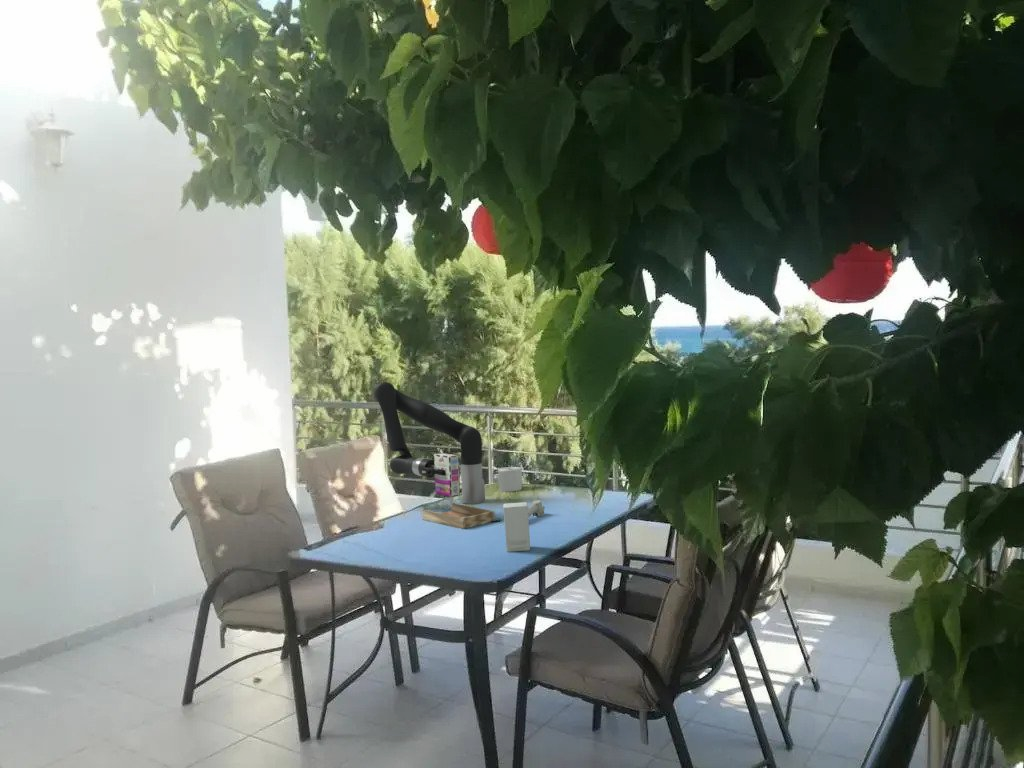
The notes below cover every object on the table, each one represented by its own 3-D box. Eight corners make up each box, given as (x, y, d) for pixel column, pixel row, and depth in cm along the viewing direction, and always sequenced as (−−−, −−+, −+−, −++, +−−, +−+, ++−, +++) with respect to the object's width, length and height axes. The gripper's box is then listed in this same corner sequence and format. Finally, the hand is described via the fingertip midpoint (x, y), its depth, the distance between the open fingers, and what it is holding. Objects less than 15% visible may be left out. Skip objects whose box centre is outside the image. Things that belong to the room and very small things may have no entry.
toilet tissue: (523, 487, 394) (522, 466, 393) (520, 492, 382) (519, 470, 381) (501, 487, 395) (500, 467, 394) (497, 492, 383) (496, 471, 383)
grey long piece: (505, 517, 313) (534, 496, 335) (507, 534, 314) (535, 511, 336) (518, 518, 310) (545, 497, 332) (520, 535, 312) (547, 512, 333)
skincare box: (529, 546, 284) (527, 501, 283) (530, 551, 278) (528, 505, 277) (505, 547, 284) (503, 502, 283) (505, 552, 278) (503, 506, 277)
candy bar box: (461, 495, 329) (459, 455, 328) (451, 497, 326) (449, 456, 325) (444, 492, 338) (443, 452, 337) (434, 493, 335) (433, 453, 334)
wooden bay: (453, 512, 344) (453, 503, 343) (494, 521, 324) (494, 511, 324) (422, 519, 333) (422, 510, 332) (463, 529, 314) (462, 518, 313)
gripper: (410, 460, 337) (435, 465, 325) (438, 456, 347) (463, 460, 334) (411, 479, 338) (436, 483, 325) (439, 474, 347) (464, 478, 335)
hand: (450, 471), depth 330 cm, fingers closed on candy bar box, 5 cm apart
